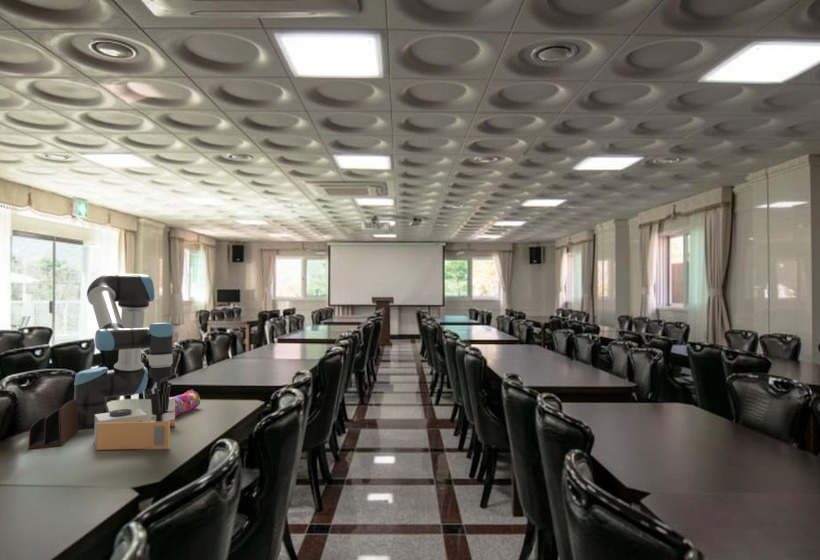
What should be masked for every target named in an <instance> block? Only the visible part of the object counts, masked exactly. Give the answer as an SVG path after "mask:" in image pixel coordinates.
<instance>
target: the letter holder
mask: <svg viewBox="0 0 820 560" xmlns="http://www.w3.org/2000/svg"><path fill="white" fill-rule="evenodd" d="M76 433H77V434H78V433H79V429H78V402H77V400H74V399H73V400H69V401H68V402H66V403H64V404H63V405H62V406H61V407H60V408H57V409H55V410H53V411H51V413H49V414H47V415H45V416H42V417H40V418H39V419H37V420H36V421H34V422H33V424H31V426H30V428H29V433H28V434H29V436H28V450H32V449H34V448H35V449H46V447H47V448H55V447H56V448H57V447H61V446H63V445H64V444H65V443H66V442H68V441H69V440H70V439H72V438H73V437H74V436H75V435H77V434H76Z"/></svg>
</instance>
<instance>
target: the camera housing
mask: <svg viewBox="0 0 820 560" xmlns="http://www.w3.org/2000/svg"><path fill="white" fill-rule="evenodd" d="M106 422H148V414H147V413H146V412H145V411H144V410H142V409H141V408H135V409H134V408H133V409H130V408H129V409H128V408H124V409H123V408H122V409H116V410H115V409H114V410H111V411H110V413H102V414H95V420H94V428H93V430H94V431H93V432H94V433H93V437H94V438H93V442H94V443H95V423H106Z"/></svg>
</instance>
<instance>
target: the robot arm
mask: <svg viewBox="0 0 820 560" xmlns="http://www.w3.org/2000/svg"><path fill="white" fill-rule="evenodd" d="M86 298H87V300H88V302H89V304H90V305H92V308H93V310H94V316H95V318H96V322H97V325H98V329H97V330H96V332H95V334H94V335H95V336H94V342H95V343H94V344H95V348H96V350H98V351H114V350H115V351H118V360H117V362H116V363H114V365H113V369H109V368H108V367H106V366H100V367H93V368H88V369H85V370H80V371H79V372H76V374H75V377H74V383H73V385H74V399H73V400H77V402H78V430H83V429H84V430H85V429H94V420H95V414H102V413H110V412H111V411H110V409H109V407H108V398H116V397H125V396H134V395H138V394H142V393H143V392H144V391H145V390H146V388H147V386H148V381H149V379H153V381H152V387H151V388H150V387H149V389H148V391H149V394H150V406H151V405H152V413H153V415H156V421H165V413H168V411H166V410H168V406H169V397H170V394H171V387H172V382H169V378H170V377H172V376H173V366H172V365H173V364H174V363H173V343H174V342H173V340H174V339H173V337H174V336H173V334H174V330H173V323H171V322H151V323H150V324H149V325H148V327H144V324H145V323H144V321H145V310H146V309H147V308H148V307H150V306H149V305H150V303H151V302H153V301H154V300H155V286H154V282H153V279H152V277H151V276H149V275H147V274H141V273H107V274H104V275H101V276H98V277H97V278H96V279H94V280H93V281H92V282H91V283H90V284H89V286H88V289H87V291H86ZM116 302H118V304H117V303H116ZM118 307H120V309H121V315H120V311H119V309H118ZM142 349H149V350H148V352H149V353H148V354H149V355H148V357H147V359H148V365H149V366H150V367H149V368H147V367H146V366H145V363H143V362H142V361H141V360H142Z"/></svg>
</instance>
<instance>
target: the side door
mask: <svg viewBox="0 0 820 560" xmlns="http://www.w3.org/2000/svg"><path fill="white" fill-rule="evenodd" d="M170 442H171V427H170V421H151V420H150V421H147V422H106V423H95V442H94V450H95V451H96V450H97V451H100V450H133V449H135V450H136V449H137V450H138V449H140V450H142V449H145V450H146V449H169V448H170V446H171V443H170Z"/></svg>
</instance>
